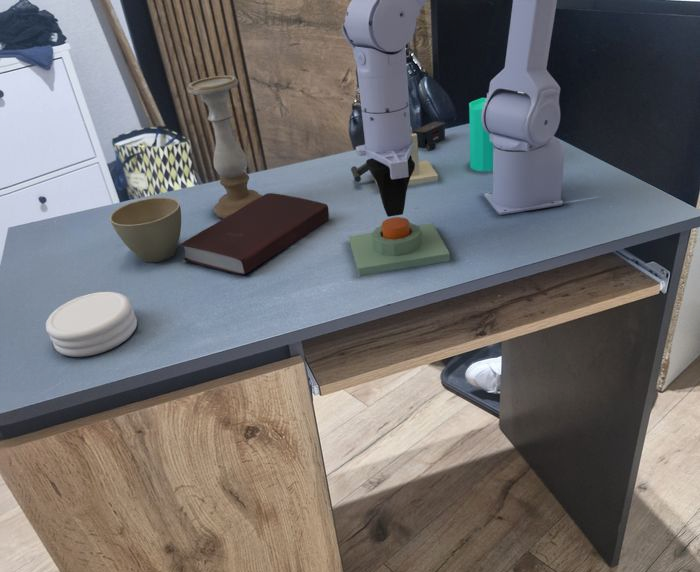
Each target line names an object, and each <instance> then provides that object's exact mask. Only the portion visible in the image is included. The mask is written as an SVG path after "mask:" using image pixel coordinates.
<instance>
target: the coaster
mask: <svg viewBox="0 0 700 572" xmlns="http://www.w3.org/2000/svg"><path fill="white" fill-rule="evenodd" d="M137 325H138V319H137V316H136V315H135V311H134V309H133V307H132V302H131V300H130V299H129V298H128V297H127V296H126V295H124V294H123V293H119V292H115V291H97V292H92V293H89V294H84V295H81V296H78V297H76V298H73V299H71V300H69V301H67V302H65V303H63V304H62V305H60V306H59V307H57V308H56V309H54V310H53V311H52V312H51V314H50V315H49V316H48V318H47V320H46V322H45V330H46V332H47V334H48V335H49V339H50V341H51V343H52V344H53V348H54V349H55V350H56V351H57V353H59V354H61V355H63V356H65V357H66V356H67V357H71V358H84V357H85V358H86V357H92V356H95V355H99V354H102V353H105V352H107V351H110V350H113V349H114V348H116V347H119V346H120V345H121V344H123V343H125V342H126V341H127V340H128V339H129V338H130V337H131V336H132V335H133V333H134V332H135V330H136V328H137Z"/></svg>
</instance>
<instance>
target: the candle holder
mask: <svg viewBox="0 0 700 572" xmlns="http://www.w3.org/2000/svg"><path fill="white" fill-rule="evenodd" d="M238 85H239V80H238V78H237V77H236V76H234V75H227V74H226V75H215V76H210V77H209V76H208V77H205V78H200V79H197V80H194V81H192V82H190V83H189V84H188V85H187V87H186V89H187V93H188V94H189V95H192V96H193V95H195V96H200V98H201V101H202V102H203V103H205V104H206V105H207V107H208V110H209V112H208V116H207V121H208V122H211V124H212V128H213V132H214V138H215V147H214V152H213V153H214V154H213V159H212V160H213V162H212V164H213V167H214V169H215V171H216V172H217V174H218V175H220V176H221V178H220V180H219V184H220V186H222V187H223V188H224V189H225V191H226V193H225V194H223V195H222V196H220V197H219V199H218V202H217V203H216V204H215V205H214V207H213V210H214V214H215V216H217V217H218V218H220V219H224V218H226V217H227V216H229V215H231V214H233V213H234V212H236V211H238V210H239V209H241V208H242V207H244V206H246V205H247V204H249V203H251V202H253V201H254V200H256V199H258V198H260V197H261V196H263V194H261V193H259V192H258V191H257V190H255V189H249V188H248V184H249V183H248V182H249V180H250V176H249V175H248V173H246V170H247V167H248V163H249V162H248V157H247V155H246V153H245V151H244V150H243V149H242V148H243V147H241V145H240V144H239V143H238V141H237V139H236V137H235V134H234V131H233V127H232V123H231V118H233V115H234V114H233V113H232V112H231V111H230V110H229V108H228V106H227V102H228V99H229V98H230V93H229V90H233V89H234V88H236V87H237V86H238Z"/></svg>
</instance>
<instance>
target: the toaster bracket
mask: <svg viewBox="0 0 700 572" xmlns="http://www.w3.org/2000/svg"><path fill="white" fill-rule="evenodd" d="M411 139H412V140H413V144H414V148H413V150H412V152H411V154H410V155H411V156H412V160H413V161H414V163H415V168H414V171H413V173H412V175H411V177H410V180H409V183H408V187H409V186H414V185H421V184H428V183H432V182H439V174H438V173H437V172H436V170H435V169H434V167H433V166H432V164H431V163H430V161H429V160H427V159H426V160H419V159H420V158H419V147H418V142H417V134H416V133H415V132H414V133H413V128H412V126H411ZM371 175H372V174H371ZM372 178H373V180H374V182H375V185H376V187H377V188H378V185H377V182H376V180H375V179H374V177H373V175H372Z"/></svg>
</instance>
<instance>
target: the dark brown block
mask: <svg viewBox="0 0 700 572" xmlns="http://www.w3.org/2000/svg"><path fill="white" fill-rule="evenodd" d="M445 125H446V124H445V122H444V121H443V122H441V121H432V122H430V123H428V124H426V125H423V126H421V127H419V128H416V129H414V131H413V132H414V134H415V133H416V134H417V142H418V148H420V149H426V150H427V151H431V150H433V149H435V148H436V147H437V144H438V143H440V142H441V141H444V140H445V139H446V126H445Z"/></svg>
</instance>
